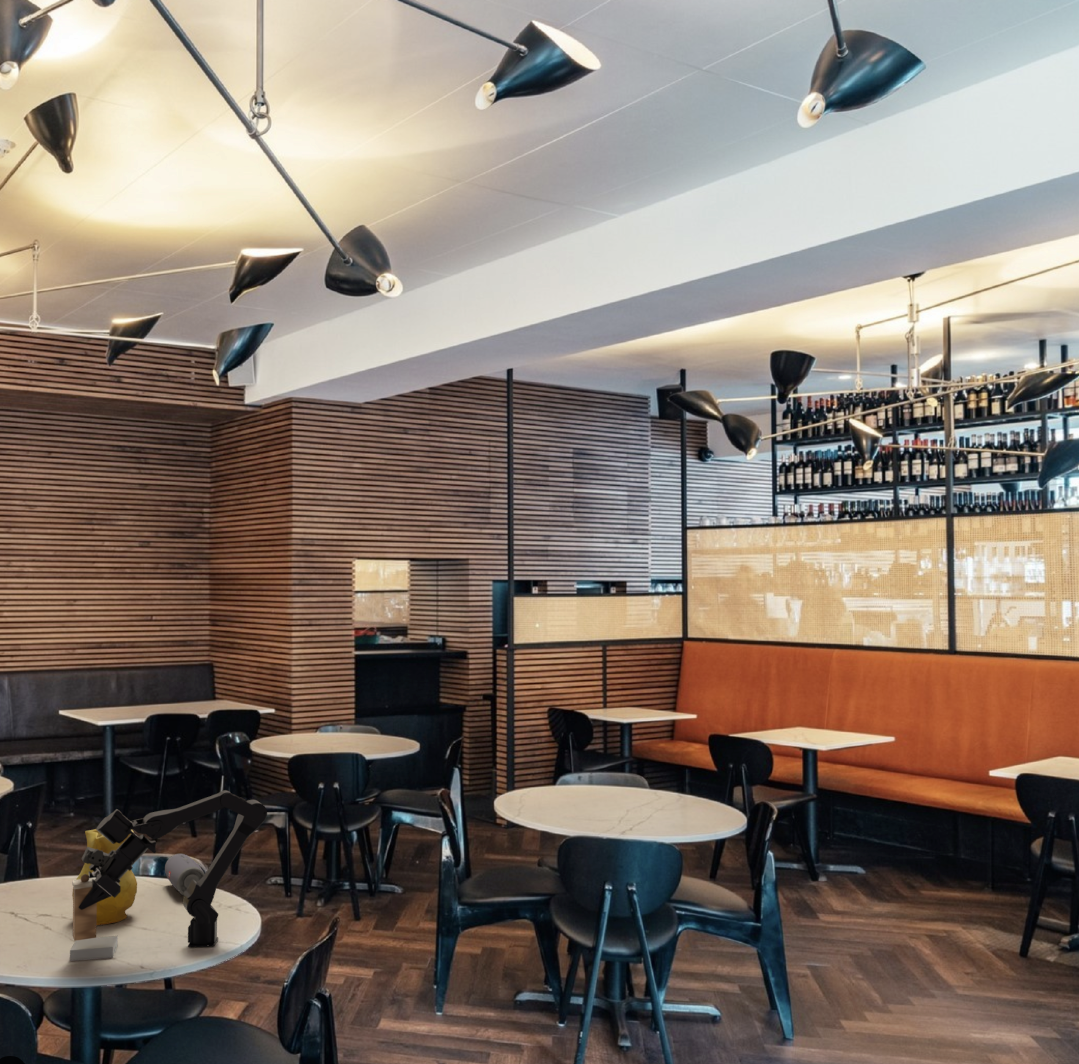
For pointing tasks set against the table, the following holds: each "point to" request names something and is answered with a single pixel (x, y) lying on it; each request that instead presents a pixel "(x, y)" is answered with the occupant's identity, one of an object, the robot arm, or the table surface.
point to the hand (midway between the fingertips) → (78, 905)
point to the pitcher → (116, 907)
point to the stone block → (94, 948)
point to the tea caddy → (83, 918)
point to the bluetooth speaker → (182, 871)
